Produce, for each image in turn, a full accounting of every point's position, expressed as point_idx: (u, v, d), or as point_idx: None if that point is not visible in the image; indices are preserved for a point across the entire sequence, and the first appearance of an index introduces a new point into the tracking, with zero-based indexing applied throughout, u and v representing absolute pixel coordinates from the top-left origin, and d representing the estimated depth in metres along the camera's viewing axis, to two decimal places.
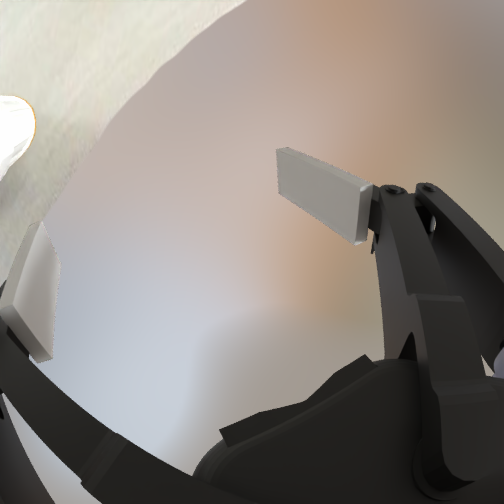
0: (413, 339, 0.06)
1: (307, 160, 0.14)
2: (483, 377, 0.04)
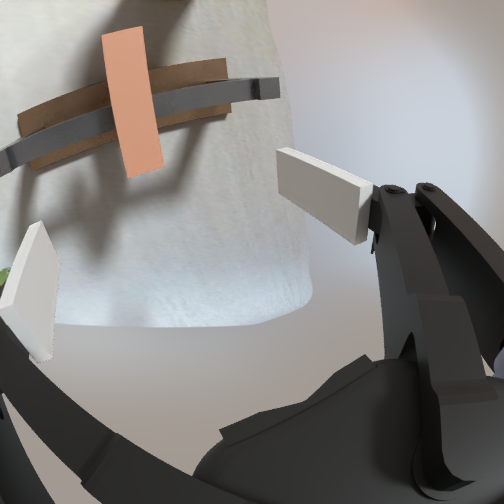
0: (413, 339, 0.06)
1: (307, 160, 0.14)
2: (483, 377, 0.04)
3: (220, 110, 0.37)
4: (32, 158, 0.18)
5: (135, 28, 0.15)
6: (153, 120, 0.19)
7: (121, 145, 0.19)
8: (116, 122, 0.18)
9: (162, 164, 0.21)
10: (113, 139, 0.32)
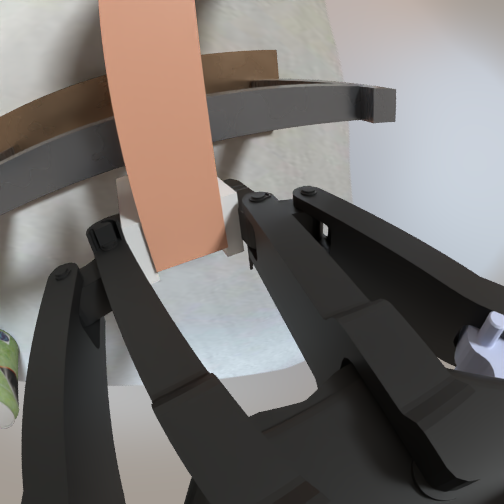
0: (348, 361, 0.05)
1: None
2: (448, 376, 0.04)
3: None
4: None
5: None
6: (209, 155, 0.10)
7: (140, 210, 0.10)
8: (127, 159, 0.09)
9: (224, 243, 0.12)
10: None
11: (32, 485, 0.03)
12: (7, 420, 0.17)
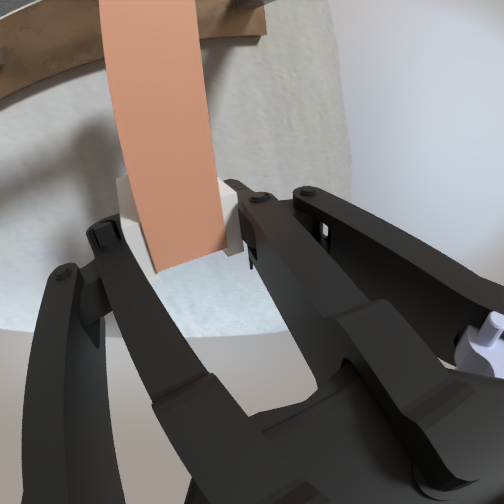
0: (348, 361, 0.05)
1: None
2: (448, 376, 0.04)
3: (252, 29, 0.23)
4: None
5: None
6: (209, 155, 0.10)
7: (140, 210, 0.10)
8: (127, 159, 0.09)
9: (224, 243, 0.12)
10: (97, 56, 0.18)
11: (32, 485, 0.03)
12: None
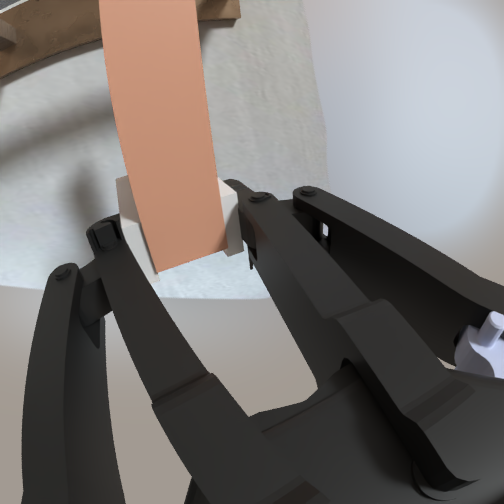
0: (348, 361, 0.05)
1: None
2: (448, 376, 0.04)
3: (228, 13, 0.25)
4: None
5: None
6: (209, 156, 0.10)
7: (140, 210, 0.10)
8: (127, 160, 0.09)
9: (224, 243, 0.12)
10: (95, 37, 0.21)
11: (32, 485, 0.03)
12: None
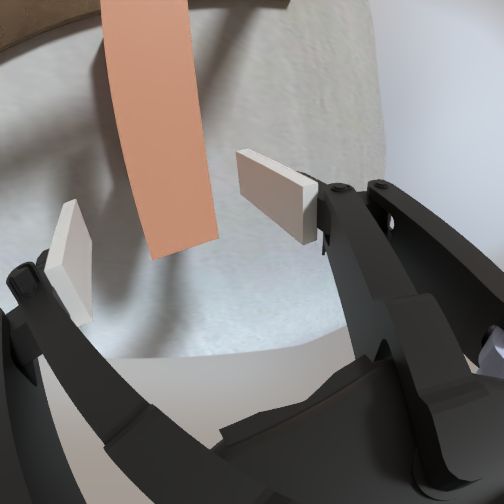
0: (386, 344, 0.06)
1: (260, 161, 0.14)
2: (469, 374, 0.04)
3: None
4: None
5: None
6: (201, 152, 0.11)
7: (137, 201, 0.10)
8: (126, 155, 0.09)
9: (215, 233, 0.13)
10: (89, 10, 0.12)
11: None
12: None
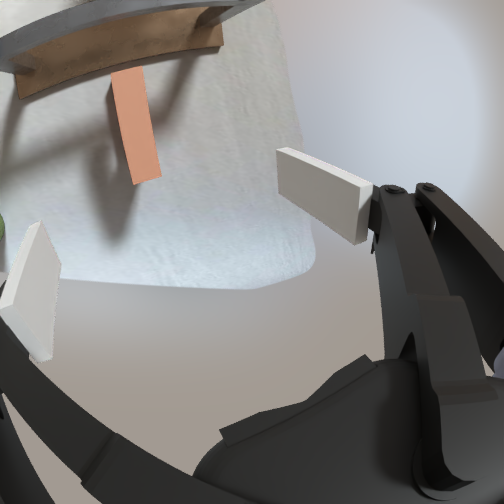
0: (413, 339, 0.06)
1: (307, 160, 0.14)
2: (483, 377, 0.04)
3: (213, 42, 0.32)
4: (18, 47, 0.13)
5: (136, 67, 0.22)
6: (152, 140, 0.26)
7: (128, 159, 0.26)
8: (124, 142, 0.25)
9: (160, 174, 0.28)
10: (102, 66, 0.27)
11: None
12: None
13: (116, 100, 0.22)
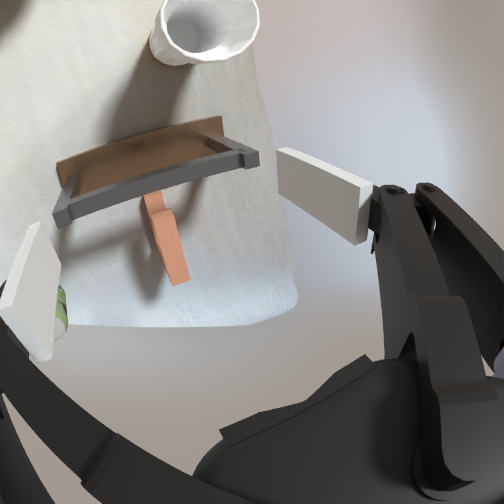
0: (413, 339, 0.06)
1: (307, 160, 0.14)
2: (483, 377, 0.04)
3: None
4: (86, 213, 0.31)
5: (170, 216, 0.39)
6: (183, 260, 0.44)
7: (168, 272, 0.43)
8: (165, 262, 0.42)
9: (189, 278, 0.46)
10: None
11: None
12: (59, 333, 0.40)
13: (158, 238, 0.40)
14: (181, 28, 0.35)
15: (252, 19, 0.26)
